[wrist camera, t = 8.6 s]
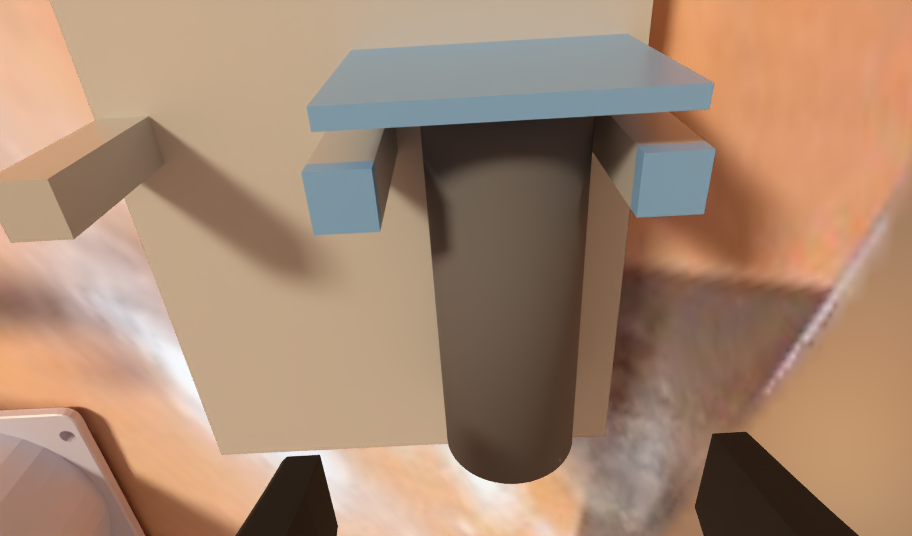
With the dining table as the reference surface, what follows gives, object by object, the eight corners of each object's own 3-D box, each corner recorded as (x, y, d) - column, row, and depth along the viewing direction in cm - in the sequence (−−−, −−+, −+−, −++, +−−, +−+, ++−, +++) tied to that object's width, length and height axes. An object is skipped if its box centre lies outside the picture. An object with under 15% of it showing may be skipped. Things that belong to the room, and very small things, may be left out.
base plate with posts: (599, 418, 20) (648, 574, 15) (229, 436, 20) (161, 596, 15) (656, -145, 12) (803, -197, 7) (33, -106, 12) (-245, -130, 7)
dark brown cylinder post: (553, 382, 18) (588, 473, 15) (441, 396, 18) (454, 492, 15) (567, 72, 13) (623, 113, 10) (413, 84, 13) (424, 131, 10)
